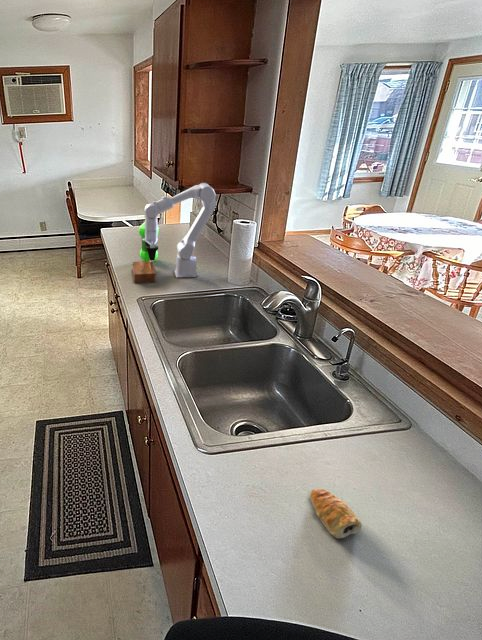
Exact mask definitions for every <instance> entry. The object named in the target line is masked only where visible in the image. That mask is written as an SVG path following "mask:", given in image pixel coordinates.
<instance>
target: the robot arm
mask: <svg viewBox="0 0 482 640" xmlns="http://www.w3.org/2000/svg"><path fill="white" fill-rule="evenodd" d="M216 194H217V193H216V192H215V189H214V188H213V187H212V186H210V185H209V184H208V183H207V182H200V183H199V184H195V185H193V186H192V187H189V188H187V189H185V190H184V191H182V192H180V193H178V194H175V195H173V196H166V195H164V196H162V197H161V199H159V200H156V201H155V200H154V201H152V203H151V202H149V203H147V204H146V205H145V206H144V208H143V211H144V219H145V220H144V222H145V239H143V241H145V243H146V249H147V251H148V255H149V259H150V261H153V260H154V259H155V255H156V252H157V251H158V250H159V246H158V245H157V242H158V241H159V240H158V236H157V226H158V216H159V215H160V214H162V213H165V212H167V211H169V210H172V209H173V208H174V206H175V205H176V204H179V203H182V202H183V201H186V200H189V199H197V200H199V199H200V201H201V204H202V207H201V209H200V211H199V212H198V214H197V216H196V217H195V220H194V221H193V223H192V225H191V226H190V228H189V230H188V232H187V234H186V235H185V236H184V237H182V239H181V241H179V242H178V243H176V246H175V247H176V248H175V249H176V251H177V254H176V259H175V270H174V271H173V272H174V275H175V277H176V278H178V279H179V278H197V265H198V263H197V257H196V256H193V252H194V249H195V247H196V242H197V240H198V238H199V237H200V235H201V234H202V232H203V230H204V228H205V226H206V225H207V223H208V222H209V220H210V218H211V216H212V215H213V214H214V211H215V209H216V197H217V195H216ZM145 214H146V215H145ZM155 244H156V246H155ZM155 260H156V259H155ZM155 260H154V261H155ZM154 261H153V262H154Z"/></svg>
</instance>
